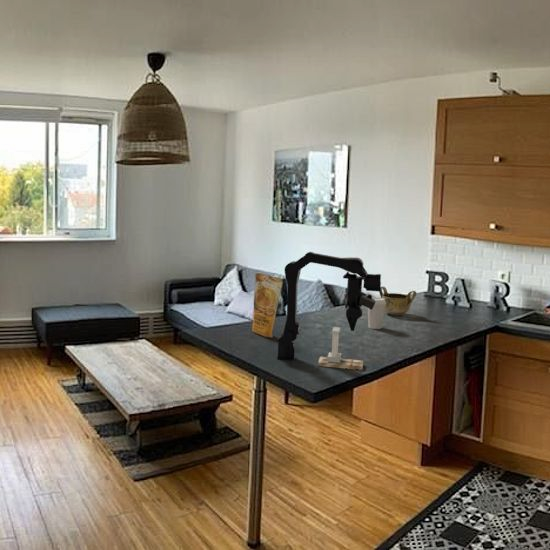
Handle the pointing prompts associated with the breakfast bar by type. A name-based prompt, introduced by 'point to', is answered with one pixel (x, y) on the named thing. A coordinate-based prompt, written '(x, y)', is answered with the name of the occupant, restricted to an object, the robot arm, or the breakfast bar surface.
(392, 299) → the basket with handles
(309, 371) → the breakfast bar surface
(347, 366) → the fader console
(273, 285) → the pancake mix bag
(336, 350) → the fader tab
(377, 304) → the coffee cup
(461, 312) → the breakfast bar surface
